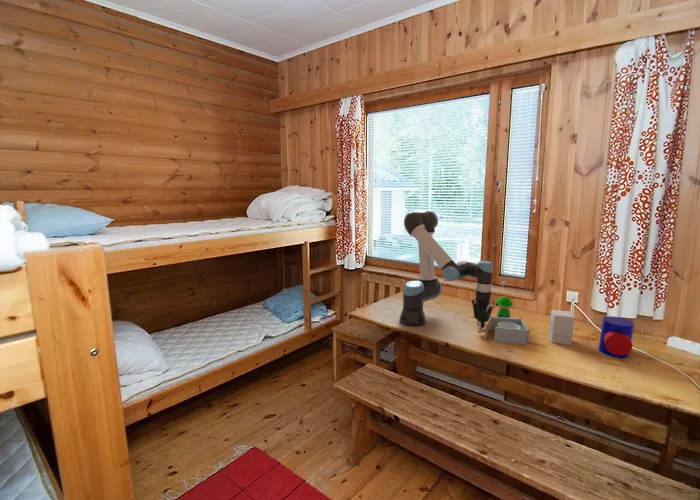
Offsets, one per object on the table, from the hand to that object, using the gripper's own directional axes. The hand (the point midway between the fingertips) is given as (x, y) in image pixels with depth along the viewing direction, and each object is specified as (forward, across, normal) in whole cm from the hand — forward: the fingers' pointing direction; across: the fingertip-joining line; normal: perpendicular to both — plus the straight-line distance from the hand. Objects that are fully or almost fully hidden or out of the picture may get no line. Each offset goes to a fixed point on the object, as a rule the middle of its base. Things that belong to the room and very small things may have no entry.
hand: (480, 332), depth 192 cm
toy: (+2, +6, -27) cm, 28 cm away
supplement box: (+2, -26, -30) cm, 39 cm away
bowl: (+2, -9, -11) cm, 14 cm away
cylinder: (+2, -47, -39) cm, 61 cm away
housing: (+1, -8, -10) cm, 13 cm away
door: (+1, -1, -4) cm, 4 cm away
